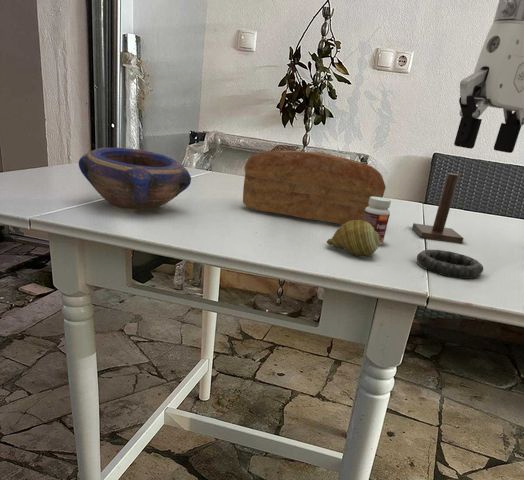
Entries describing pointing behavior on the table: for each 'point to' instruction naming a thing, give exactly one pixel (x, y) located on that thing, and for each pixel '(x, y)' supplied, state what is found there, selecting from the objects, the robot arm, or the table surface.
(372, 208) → the pill bottle
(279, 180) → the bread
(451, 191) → the stand
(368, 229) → the seashell
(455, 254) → the ring
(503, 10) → the robot arm
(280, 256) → the table surface
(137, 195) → the bowl
